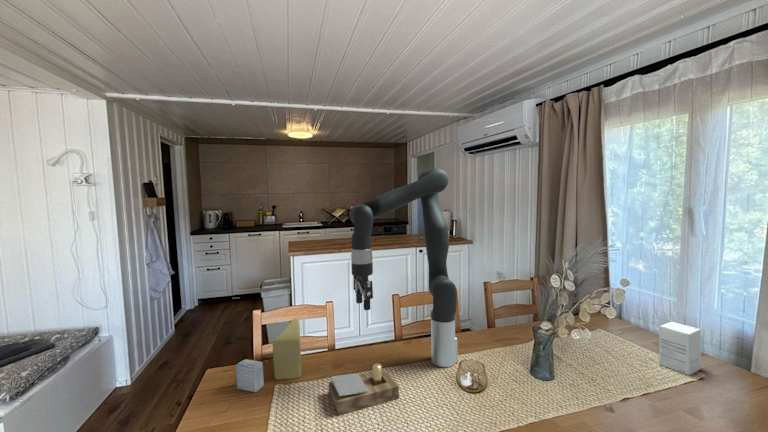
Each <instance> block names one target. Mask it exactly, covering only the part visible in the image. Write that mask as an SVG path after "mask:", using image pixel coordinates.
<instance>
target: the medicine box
mask: <svg viewBox="0 0 768 432" xmlns="http://www.w3.org/2000/svg"><path fill="white" fill-rule="evenodd" d="M235 372H236V388H237V389H238V390H242V391H247V392H252V393H256V392H259V390H261V388H263V387H264V386H265V381H264V365H263V361H258V360H254V359H247V358H245V359H243V360H242V361H239V362H238V363H237V364H236V365H235Z"/></svg>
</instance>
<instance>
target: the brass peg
mask: <svg viewBox="0 0 768 432" xmlns="http://www.w3.org/2000/svg"><path fill="white" fill-rule="evenodd" d="M382 369H383V368H382V363H374V364H372V371H373V386H376V385H379V384H382Z"/></svg>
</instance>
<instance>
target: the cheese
mask: <svg viewBox="0 0 768 432" xmlns="http://www.w3.org/2000/svg"><path fill="white" fill-rule="evenodd" d="M300 325H301V324H300V320H299V318H292V320H291V321H290V322H289V323H288V324H287V326H286V327H285V328H284V329H283V331H282V332H281V333H280V334H278V335H277V336H276V337H275V338H273V340H272V359H273V361H272V362H273V374H274V379H275V380H277V381H278V380H279V381H280V380H293V379H294V380H295V379H299V378H301V377H302V359H301V358H302V357H301V356H302V355H301V354H302V353H301V350H302V347H301V326H300Z"/></svg>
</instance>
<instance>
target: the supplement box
mask: <svg viewBox="0 0 768 432" xmlns="http://www.w3.org/2000/svg"><path fill="white" fill-rule="evenodd" d="M658 328H659V333H658V334H659V335H658V337H659V339H658V340H659V341H658V343H659V348H658V349H659V350H658V351H659V352H658V356H659V357H658V358H659V359H658V365H659V366H662V367H665V368H667V367H668V369H671V370H673V371H676V372H678V373H682V374H683V375H687V376H691V375H692V374H695V373H696V372H698V371H699V370H701V365H702V364H701V362H702V361H701V357H702V356H701V355H702V354H701V351H702V350H701V349H702V348H701V345H702V344H701V343H702V342H701V341H702V340H701V339H702V337H701V328H697V327H693V326H689V325H687V324H686V325H684V324H682V323H679V322H674V321H670V322H667V323H663V324H661V325H659V327H658Z"/></svg>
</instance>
